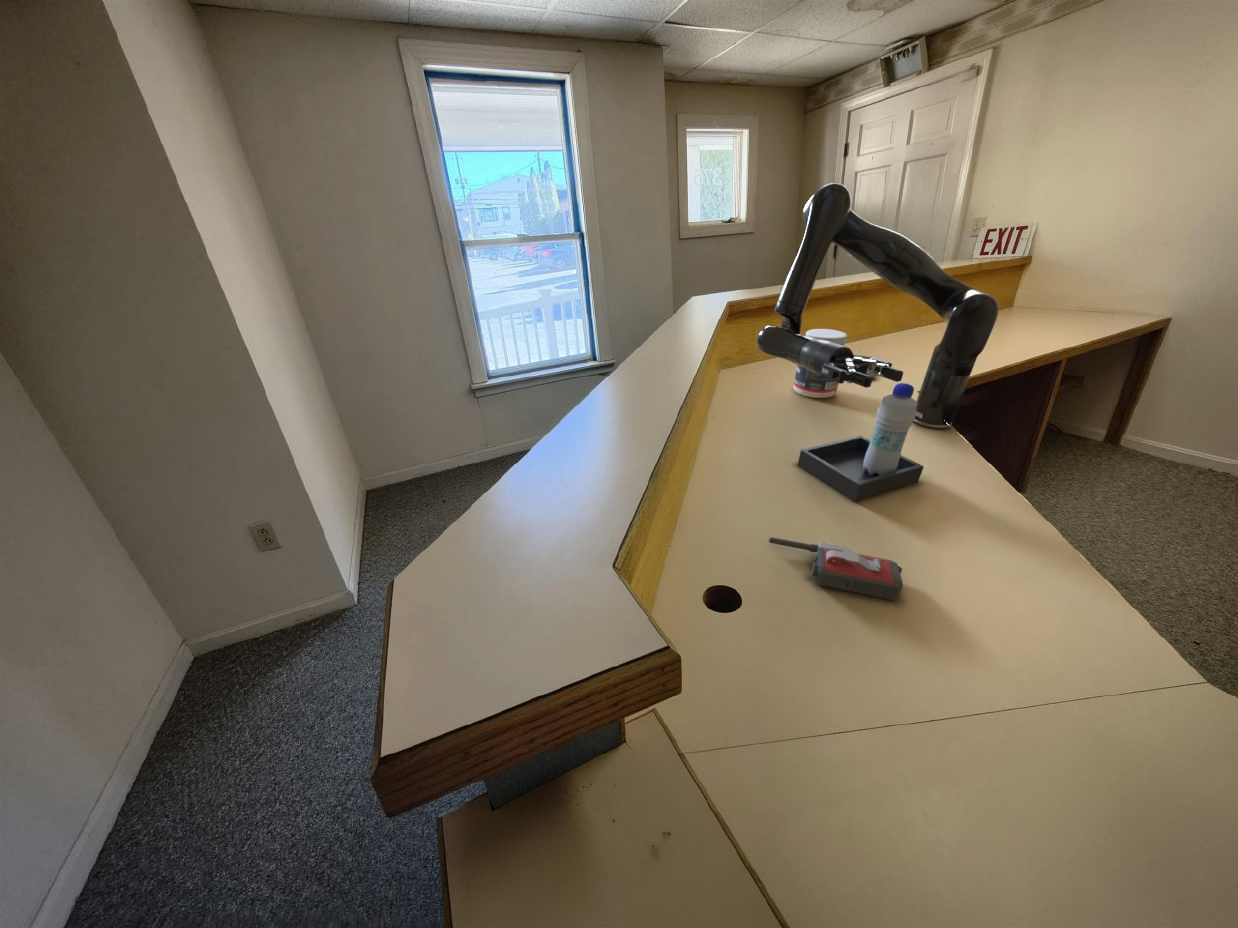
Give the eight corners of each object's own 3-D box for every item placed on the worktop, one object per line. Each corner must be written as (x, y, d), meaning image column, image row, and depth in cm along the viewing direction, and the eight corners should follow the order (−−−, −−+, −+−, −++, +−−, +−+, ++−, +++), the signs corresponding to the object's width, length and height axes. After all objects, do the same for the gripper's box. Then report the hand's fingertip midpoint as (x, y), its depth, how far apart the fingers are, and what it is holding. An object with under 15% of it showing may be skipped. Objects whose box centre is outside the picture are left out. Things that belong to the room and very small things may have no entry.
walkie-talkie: (895, 566, 74) (768, 541, 79) (904, 545, 71) (772, 521, 77) (907, 605, 66) (765, 575, 72) (916, 583, 64) (769, 554, 70)
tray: (856, 450, 108) (860, 435, 106) (917, 482, 96) (924, 466, 94) (797, 465, 102) (800, 449, 100) (854, 502, 90) (859, 484, 88)
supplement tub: (795, 383, 149) (805, 326, 140) (837, 388, 145) (851, 330, 135) (789, 396, 139) (800, 336, 130) (834, 402, 135) (849, 340, 125)
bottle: (899, 482, 94) (931, 391, 84) (864, 479, 95) (891, 388, 85) (889, 466, 99) (918, 379, 90) (856, 463, 101) (881, 377, 91)
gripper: (804, 345, 100) (864, 366, 87) (852, 338, 105) (916, 357, 92) (797, 378, 103) (855, 402, 90) (844, 370, 108) (905, 392, 95)
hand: (886, 379), depth 91 cm, fingers open, 8 cm apart
